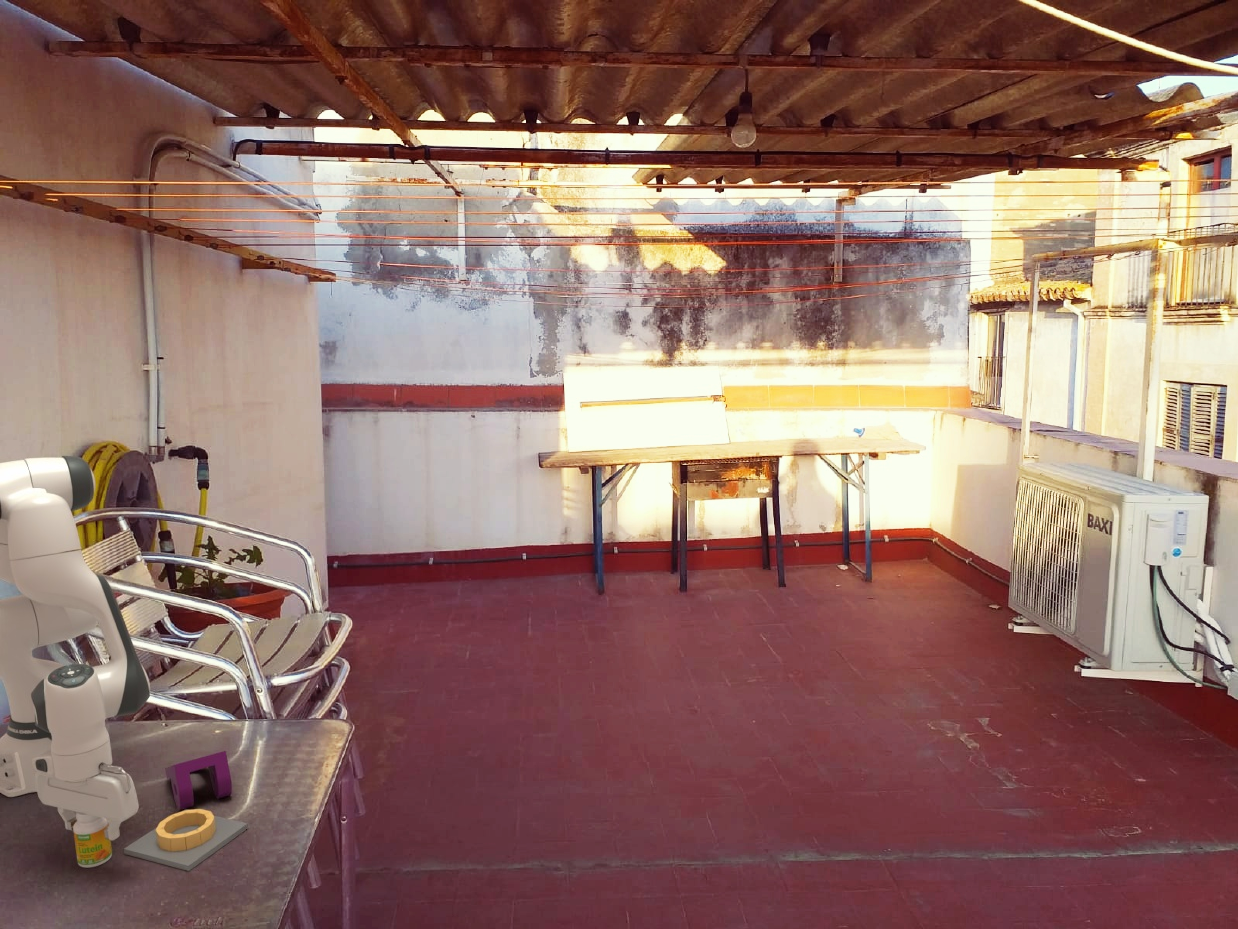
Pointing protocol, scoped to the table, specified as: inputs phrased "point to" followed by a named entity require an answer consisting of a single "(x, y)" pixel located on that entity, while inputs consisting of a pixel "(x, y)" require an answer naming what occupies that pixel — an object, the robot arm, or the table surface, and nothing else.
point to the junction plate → (188, 855)
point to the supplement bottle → (91, 840)
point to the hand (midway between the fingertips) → (92, 833)
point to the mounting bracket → (182, 770)
